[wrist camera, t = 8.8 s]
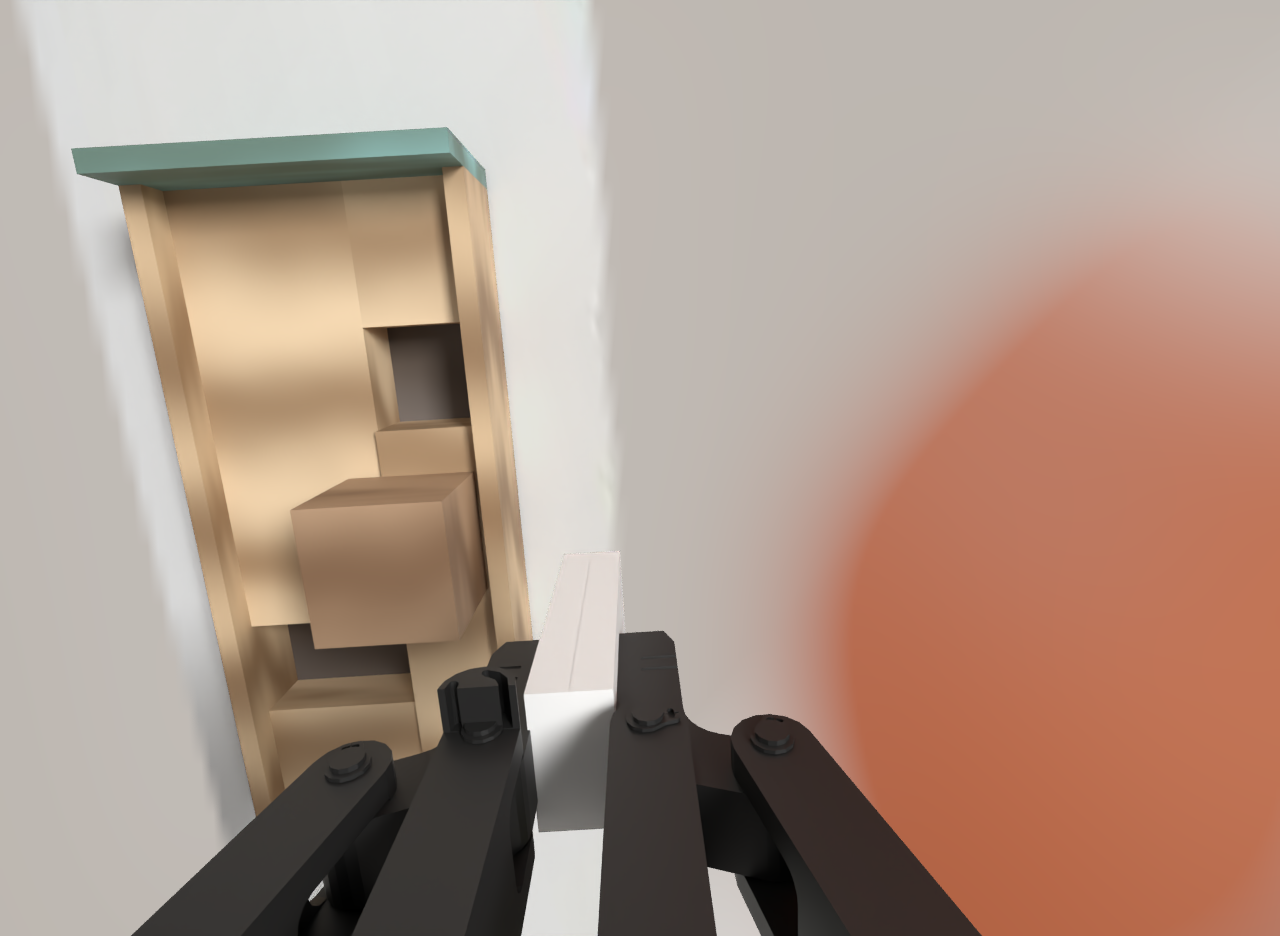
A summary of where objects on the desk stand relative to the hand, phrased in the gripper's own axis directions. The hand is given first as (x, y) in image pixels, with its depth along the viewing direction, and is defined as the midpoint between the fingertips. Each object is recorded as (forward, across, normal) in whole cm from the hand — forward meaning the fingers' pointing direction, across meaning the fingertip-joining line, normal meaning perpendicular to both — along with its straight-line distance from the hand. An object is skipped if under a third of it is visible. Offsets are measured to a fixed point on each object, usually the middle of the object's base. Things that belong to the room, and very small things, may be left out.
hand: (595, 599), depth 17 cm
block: (+9, +8, +1) cm, 12 cm away
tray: (+12, +10, 0) cm, 16 cm away
